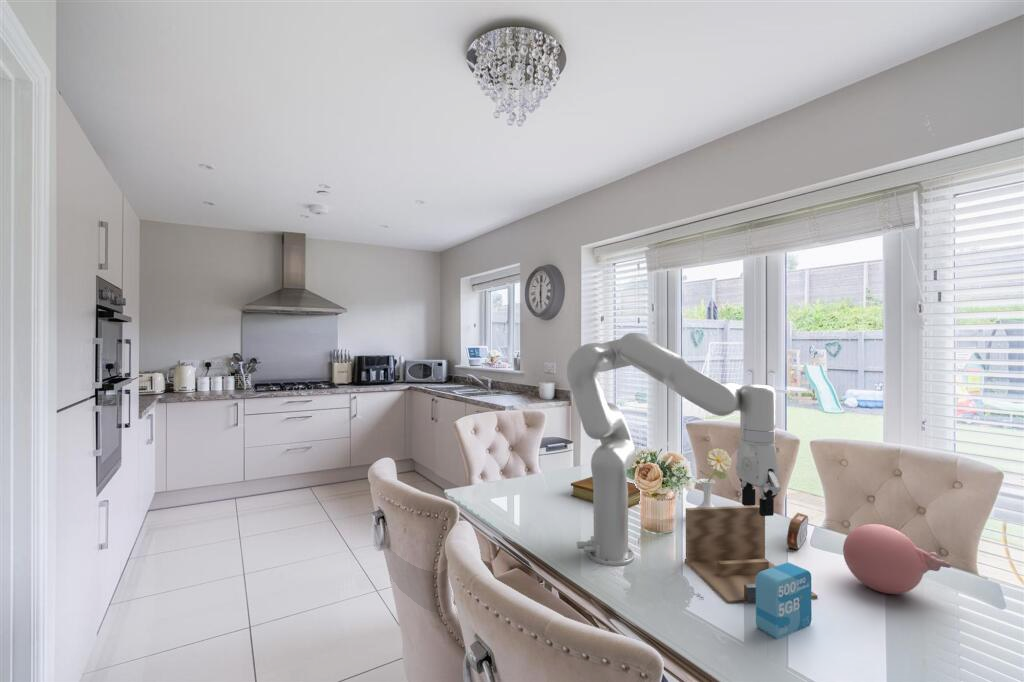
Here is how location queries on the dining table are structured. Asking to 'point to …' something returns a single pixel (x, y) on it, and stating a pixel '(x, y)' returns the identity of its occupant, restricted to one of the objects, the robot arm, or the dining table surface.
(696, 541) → the shelf
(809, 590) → the data package
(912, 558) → the balloon
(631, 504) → the diary
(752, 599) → the grey rectangular bar
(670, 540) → the dining table surface
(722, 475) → the flower in vase
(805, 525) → the tin
